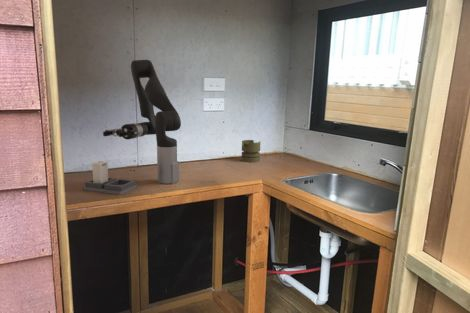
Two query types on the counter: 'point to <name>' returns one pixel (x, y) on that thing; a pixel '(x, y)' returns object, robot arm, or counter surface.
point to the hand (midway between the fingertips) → (111, 134)
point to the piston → (250, 151)
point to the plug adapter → (100, 172)
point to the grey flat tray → (111, 186)
